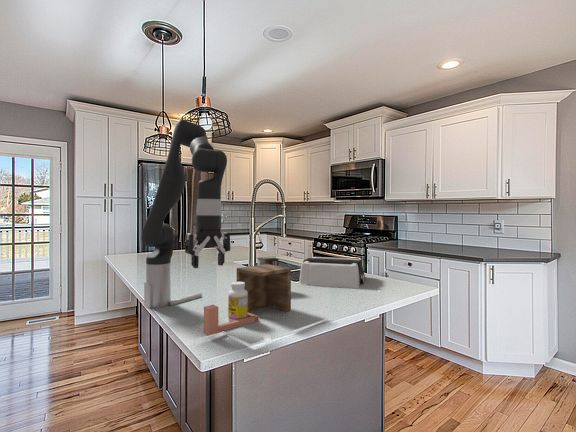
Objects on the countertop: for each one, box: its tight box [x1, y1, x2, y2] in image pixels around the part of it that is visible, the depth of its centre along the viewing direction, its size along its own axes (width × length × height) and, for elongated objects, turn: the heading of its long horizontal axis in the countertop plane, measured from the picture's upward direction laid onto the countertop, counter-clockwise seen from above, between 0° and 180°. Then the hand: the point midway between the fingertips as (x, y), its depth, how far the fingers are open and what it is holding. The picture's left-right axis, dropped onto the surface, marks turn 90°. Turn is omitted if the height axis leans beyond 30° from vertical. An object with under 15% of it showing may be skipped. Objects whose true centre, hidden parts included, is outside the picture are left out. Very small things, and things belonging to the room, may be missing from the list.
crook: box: [203, 304, 259, 336], centre depth 108 cm, size 20×8×8 cm, turn 133°
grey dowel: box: [169, 292, 203, 306], centre depth 138 cm, size 16×2×2 cm, turn 148°
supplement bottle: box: [227, 281, 249, 322], centre depth 113 cm, size 7×7×13 cm
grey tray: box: [298, 256, 366, 289], centre depth 175 cm, size 35×33×12 cm
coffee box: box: [257, 256, 280, 266], centre depth 154 cm, size 9×6×16 cm
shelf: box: [236, 264, 292, 313], centre depth 123 cm, size 15×14×16 cm
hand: (208, 266), depth 101 cm, fingers open, 8 cm apart
